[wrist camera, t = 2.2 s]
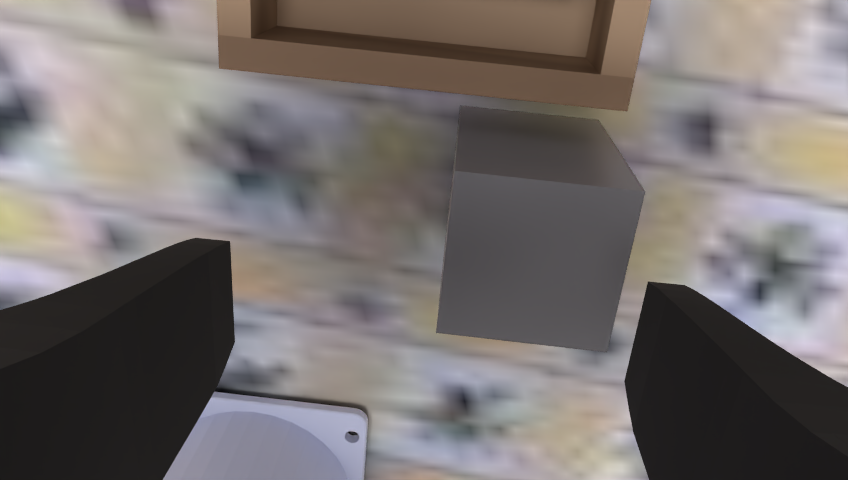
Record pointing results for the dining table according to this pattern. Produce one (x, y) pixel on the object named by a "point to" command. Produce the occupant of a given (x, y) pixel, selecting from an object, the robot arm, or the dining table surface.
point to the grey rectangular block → (536, 230)
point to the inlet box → (445, 45)
